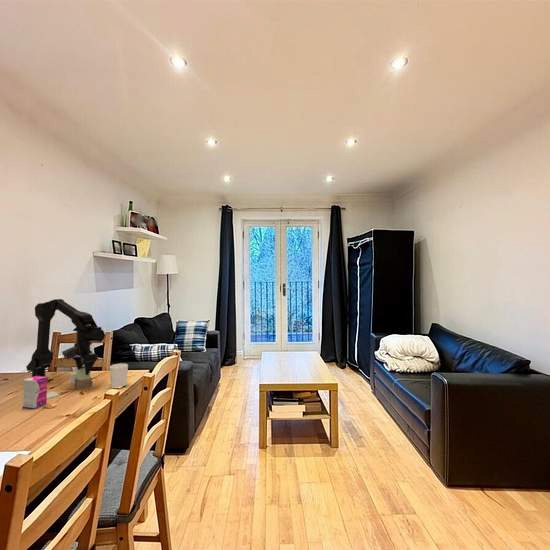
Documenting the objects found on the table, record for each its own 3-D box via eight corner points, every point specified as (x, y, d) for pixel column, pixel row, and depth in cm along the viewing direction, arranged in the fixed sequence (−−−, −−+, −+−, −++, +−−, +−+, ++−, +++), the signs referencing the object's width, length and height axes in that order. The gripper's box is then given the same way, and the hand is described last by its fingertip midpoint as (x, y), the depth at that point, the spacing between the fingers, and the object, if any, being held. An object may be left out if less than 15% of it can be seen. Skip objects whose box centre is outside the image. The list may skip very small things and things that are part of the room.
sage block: (76, 379, 157) (76, 369, 157) (86, 376, 161) (86, 367, 161) (79, 380, 155) (80, 371, 155) (90, 378, 158) (90, 369, 158)
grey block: (69, 382, 164) (69, 373, 164) (78, 380, 168) (78, 371, 168) (75, 383, 162) (75, 374, 162) (84, 381, 167) (84, 372, 167)
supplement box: (34, 409, 130) (34, 380, 130) (22, 408, 131) (22, 379, 132) (47, 404, 136) (47, 376, 136) (35, 403, 137) (35, 375, 137)
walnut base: (74, 387, 158) (74, 378, 158) (88, 384, 162) (88, 376, 162) (78, 390, 153) (78, 381, 153) (92, 387, 158) (92, 378, 158)
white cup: (131, 384, 160) (131, 364, 160) (119, 390, 153) (119, 368, 153) (118, 383, 163) (118, 363, 163) (105, 388, 155) (105, 367, 155)
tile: (36, 396, 144) (36, 395, 144) (54, 392, 150) (54, 391, 150) (41, 400, 140) (41, 399, 140) (59, 395, 145) (59, 395, 145)
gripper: (57, 340, 158) (57, 373, 157) (71, 345, 146) (71, 381, 146) (82, 337, 166) (82, 368, 166) (98, 341, 154) (98, 375, 154)
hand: (83, 373), depth 158 cm, fingers open, 9 cm apart
